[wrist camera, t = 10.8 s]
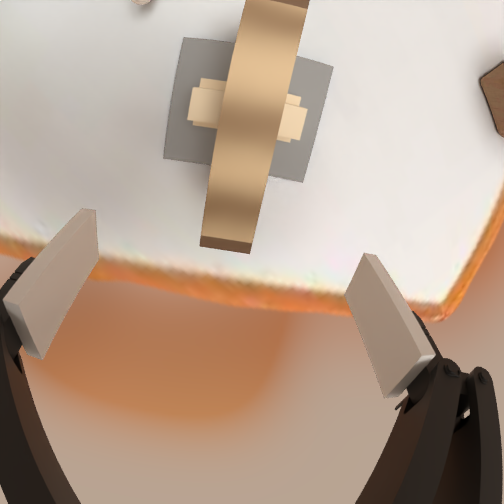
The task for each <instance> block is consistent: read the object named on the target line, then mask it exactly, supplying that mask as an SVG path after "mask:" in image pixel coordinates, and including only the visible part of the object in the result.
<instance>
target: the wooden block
mask: <svg viewBox="0 0 504 504" xmlns="http://www.w3.org/2000/svg"><path fill="white" fill-rule="evenodd" d="M481 86H482V88H483V91H484V93H485V96H486V98H487V101H488V103H489V106H490V109H491V112H492V115H493V118H494V121H495V124H496V127H497V130H498V132H499V134H500V135H501V136H502V137H504V63H502V64H501V65H500V66H498V67H497V68H495V69H494V70H493V71H491V72H490V73H488V74H487V75H486V76H484V77H483V78H482V79H481Z"/></svg>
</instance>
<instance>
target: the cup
mask: <svg viewBox="0 0 504 504" xmlns="http://www.w3.org/2000/svg"><path fill="white" fill-rule="evenodd" d="M131 1H133V2H134V3H136V4H139V5H142V4H146V3H148V2H150V1H151V0H131Z"/></svg>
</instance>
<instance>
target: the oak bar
mask: <svg viewBox="0 0 504 504" xmlns="http://www.w3.org/2000/svg"><path fill="white" fill-rule="evenodd" d="M309 1H310V0H246V2H245V6H244V9H243V13H242V17H241V21H240V25H239V30H238V34H237V38H236V42H235V47H234V51H233V55H232V60H231V64H230V69H229V74H228V78H227V83H226V88H225V93H224V98H223V103H222V108H221V113H220V119H219V124H218V129H217V135H216V140H215V146H214V152H213V158H212V164H211V170H210V176H209V183H208V189H207V196H206V202H205V209H204V216H203V224H202V231H201V239H200V246H201V247H207V248H214V249H220V250H227V251H233V252H240V253H246V254H250V251H251V246H252V242H253V238H254V234H255V229H256V225H257V221H258V216H259V212H260V208H261V204H262V199H263V195H264V191H265V187H266V182H267V178H268V174H269V170H270V165H271V161H272V157H273V153H274V148H275V144H276V140H277V136H278V131H279V127H280V123H281V119H282V114H283V110H284V106H285V102H286V98H287V93H288V89H289V85H290V81H291V76H292V72H293V68H294V64H295V60H296V55H297V51H298V47H299V43H300V39H301V34H302V30H303V26H304V22H305V18H306V13H307V9H308V5H309Z"/></svg>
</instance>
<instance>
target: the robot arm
mask: <svg viewBox="0 0 504 504" xmlns="http://www.w3.org/2000/svg"><path fill="white" fill-rule="evenodd" d="M98 260H99V254H98V242H97V228H96V210H90V209H83V208H82V209H81V210H80V211H79V212H78V213H77V214H76V215H75V216H74V217H73V218H72V219H71V220H70V221H69V222H68V223H67V224H66V225H65V226H64V227H63V228H62V229H61V230H60V231H59V232H58V234H57V235H56V236H55V237H54V238H53V239H52V240H51V241H50V242H49V243H48V244H47V246H46V247H45V248H44V249H43V250H42V251H41V252H40V253H39V255H38V256H37V257H36V258H33V257H30V258H29V259H27V260H26V261H24V262H23V263H21V265H20V266H19V267H18V268H17V269H16V270H15V273H13V274H12V275H11V276H10V279H8V280H7V281H6V283H5V284H4V285H3V286H2V288H1V289H0V485H1V487H2V490H3V493H4V495H5V497H6V500H7V502H8V504H81V503H80V501H79V500H78V498H77V496H76V494H75V493H74V491H73V489H72V487H71V486H70V484H69V482H68V480H67V478H66V476H65V475H64V473H63V471H62V469H61V467H60V465H59V463H58V461H57V459H56V456H55V454H54V452H53V450H52V448H51V445H50V443H49V441H48V438H47V436H46V433H45V431H44V429H43V426H42V423H41V421H40V418H39V415H38V413H37V410H36V407H35V404H34V401H33V398H32V395H31V391H30V388H29V385H28V381H27V378H26V374H25V371H24V367H23V363H22V359H21V356H20V354H19V352H18V351H19V349H20V348H21V346H22V345H23V347H24V349H25V351H26V353H27V354H28V355H30V356H33V357H36V358H38V359H41V360H43V358H44V356H45V354H46V352H47V350H48V348H49V346H50V344H51V342H52V340H53V338H54V336H55V334H56V332H57V330H58V328H59V326H60V324H61V323H62V321H63V319H64V317H65V315H66V313H67V312H68V310H69V308H70V306H71V304H72V303H73V301H74V299H75V297H76V296H77V294H78V292H79V291H80V289H81V287H82V285H83V284H84V282H85V281H86V279H87V277H88V276H89V274H90V273H91V271H92V269H93V268H94V266H95V265H96V263H97V261H98ZM344 295H345V298H346V300H347V303H348V305H349V307H350V310H351V312H352V315H353V317H354V319H355V322H356V324H357V327H358V329H359V332H360V334H361V337H362V340H363V342H364V344H365V347H366V350H367V352H368V355H369V358H370V360H371V363H372V366H373V369H374V371H375V374H376V377H377V380H378V382H379V385H380V388H381V391H382V394H383V397H384V398H390V397H398V396H399V395H400V394H401V393H402V392H403V391H404V390H405V389H407V391H408V395H407V397H405V398H404V399H403V400H402V401H401V402H400V403H399V404H398V405H397V406H396V408H395V410H397V409H398V408H399V407H401V406H402V407H401V409H400V412H399V415H398V417H397V420H396V422H395V425H394V427H393V430H392V432H391V434H390V437H389V439H388V441H387V443H386V446H385V448H384V450H383V452H382V454H381V456H380V458H379V460H378V462H377V464H376V466H375V468H374V470H373V472H372V474H371V476H370V478H369V480H368V482H367V484H366V485H365V487H364V489H363V491H362V493H361V495H360V496H359V498H358V499H357V501H356V503H355V504H502V447H501V435H500V425H499V418H498V410H497V403H496V397H495V392H494V386H493V381H492V378H491V376H490V374H489V372H488V371H487V370H486V369H484V368H482V367H476V368H474V370H473V371H472V372H471V373H470V374H468V373H463V372H461V370H460V368H459V367H458V365H457V364H456V363H455V362H453V361H452V360H450V359H448V358H443V357H442V356H441V354H440V352H439V350H438V348H437V346H436V345H435V343H434V341H433V339H432V337H431V336H429V332H428V330H427V329H425V328H426V327H425V325H424V323H423V322H422V320H421V318H420V317H419V316H418V315H417V314H416V313H415V312H414V311H411V309H410V308H409V306H408V304H407V303H406V301H405V299H404V298H403V296H402V294H401V293H400V291H399V290H398V288H397V286H396V285H395V283H394V282H393V280H392V278H391V277H390V275H389V274H388V272H387V271H386V269H385V268H384V266H383V265H382V263H381V262H380V260H379V259H378V257H377V256H376V255H373V254H367V253H364V254H363V256H362V258H361V260H360V263H359V265H358V267H357V269H356V271H355V273H354V276H353V278H352V280H351V282H350V284H349V286H348V288H347V290H346V292H345V294H344ZM468 409H470V415H469V416H467V417H466V418H465V419H464V413H465V412H466V411H467V410H468Z"/></svg>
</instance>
